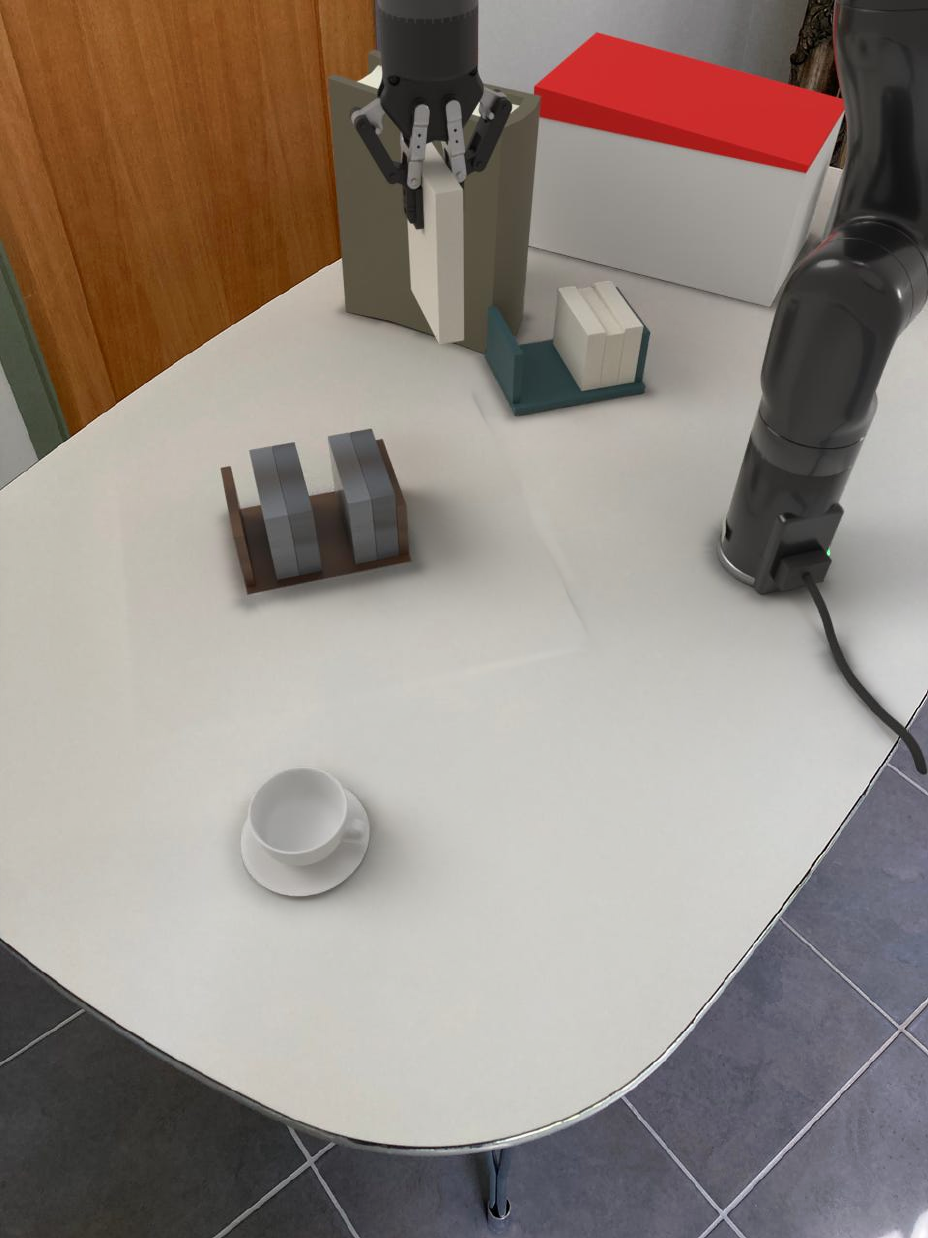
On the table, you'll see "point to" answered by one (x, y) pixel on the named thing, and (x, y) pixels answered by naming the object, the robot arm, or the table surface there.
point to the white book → (439, 251)
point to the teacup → (303, 832)
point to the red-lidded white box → (678, 167)
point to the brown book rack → (319, 515)
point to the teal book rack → (572, 352)
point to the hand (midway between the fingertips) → (434, 221)
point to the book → (382, 226)
